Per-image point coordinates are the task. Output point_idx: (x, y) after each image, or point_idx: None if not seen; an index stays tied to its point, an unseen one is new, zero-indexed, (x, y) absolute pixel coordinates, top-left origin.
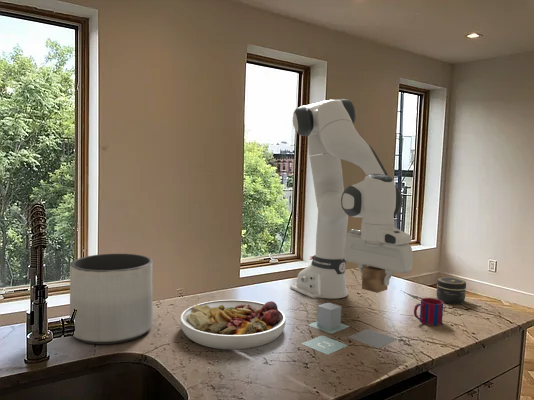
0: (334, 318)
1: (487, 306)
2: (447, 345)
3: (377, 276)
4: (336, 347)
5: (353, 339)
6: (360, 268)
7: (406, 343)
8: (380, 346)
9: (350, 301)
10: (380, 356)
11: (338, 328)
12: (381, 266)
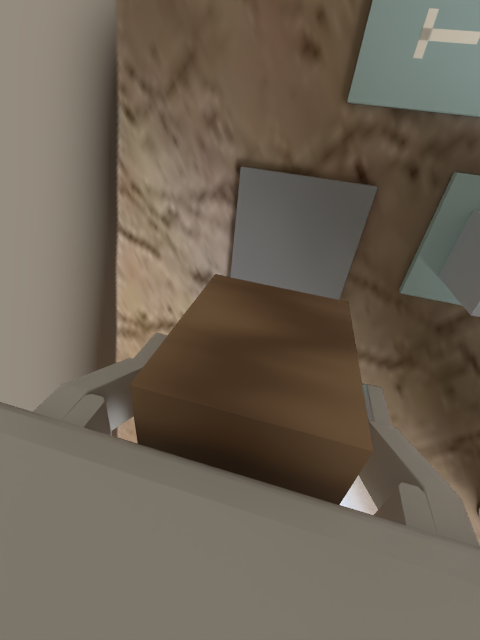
0: (478, 249)
1: None
2: (138, 326)
3: (170, 344)
4: (389, 23)
5: (348, 183)
6: (422, 479)
7: (207, 281)
8: (243, 190)
9: (457, 478)
10: (217, 122)
11: (439, 248)
12: (78, 451)
